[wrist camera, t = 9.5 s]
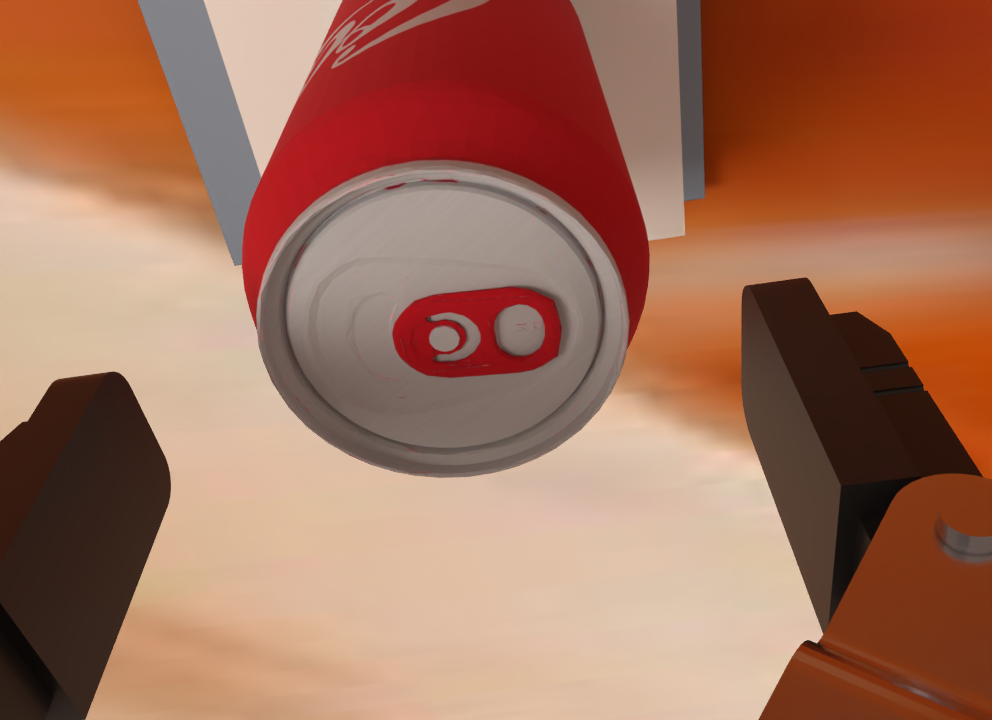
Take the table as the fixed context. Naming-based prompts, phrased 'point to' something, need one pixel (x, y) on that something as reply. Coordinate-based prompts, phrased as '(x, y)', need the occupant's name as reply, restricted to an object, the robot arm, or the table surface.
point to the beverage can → (447, 237)
